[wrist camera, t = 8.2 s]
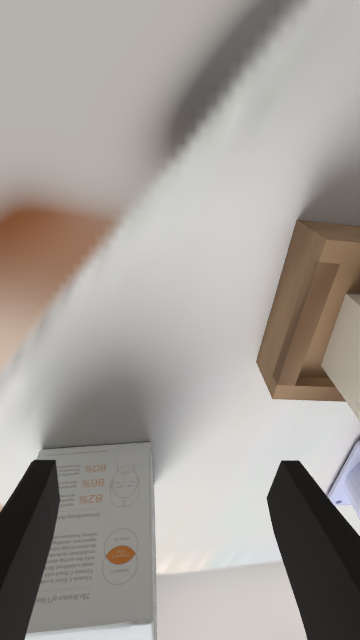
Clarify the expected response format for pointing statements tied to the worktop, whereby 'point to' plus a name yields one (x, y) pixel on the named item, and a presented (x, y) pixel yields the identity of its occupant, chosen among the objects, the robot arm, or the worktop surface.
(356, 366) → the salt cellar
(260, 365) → the wooden square tray
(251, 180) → the worktop surface
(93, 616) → the small box
